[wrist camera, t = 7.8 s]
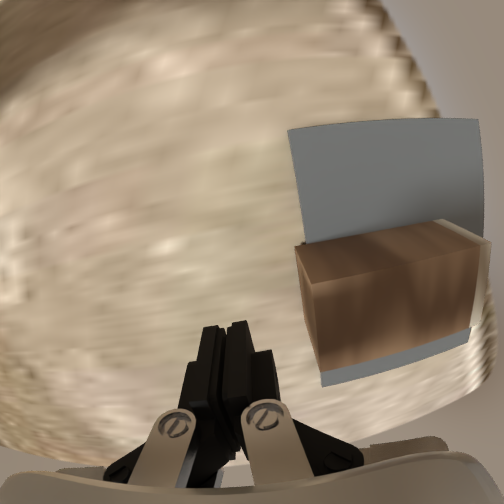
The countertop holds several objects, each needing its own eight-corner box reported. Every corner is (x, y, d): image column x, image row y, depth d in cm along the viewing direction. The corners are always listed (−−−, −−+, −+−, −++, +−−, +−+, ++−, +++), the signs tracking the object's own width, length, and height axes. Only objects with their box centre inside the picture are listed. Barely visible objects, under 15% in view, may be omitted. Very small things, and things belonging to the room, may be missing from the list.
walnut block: (311, 284, 11) (491, 242, 11) (294, 246, 15) (442, 218, 15) (320, 372, 13) (479, 323, 12) (304, 320, 17) (439, 287, 17)
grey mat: (287, 130, 14) (288, 129, 14) (475, 119, 13) (478, 119, 13) (321, 384, 19) (322, 387, 19) (465, 340, 18) (467, 342, 18)
